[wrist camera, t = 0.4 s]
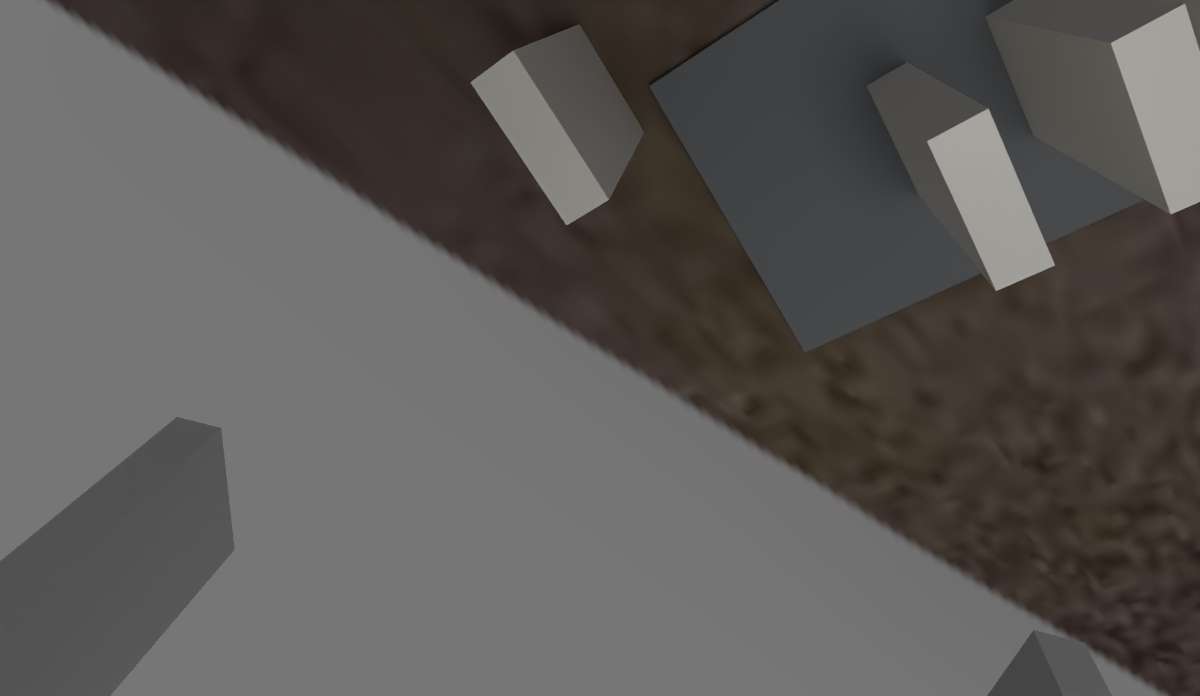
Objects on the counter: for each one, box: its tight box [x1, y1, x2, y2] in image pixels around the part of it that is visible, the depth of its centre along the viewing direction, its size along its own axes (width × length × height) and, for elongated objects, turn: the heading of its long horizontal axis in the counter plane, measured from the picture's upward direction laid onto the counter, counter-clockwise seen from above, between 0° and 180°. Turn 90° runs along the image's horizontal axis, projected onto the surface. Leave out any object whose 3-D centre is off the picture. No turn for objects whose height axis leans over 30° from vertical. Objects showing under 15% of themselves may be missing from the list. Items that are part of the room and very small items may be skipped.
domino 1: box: [867, 62, 1055, 291], centre depth 24 cm, size 5×2×10 cm, turn 34°
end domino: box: [470, 24, 644, 225], centre depth 26 cm, size 5×2×10 cm, turn 34°
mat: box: [649, 0, 1145, 352], centre depth 26 cm, size 14×29×1 cm, turn 124°
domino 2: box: [985, 0, 1200, 214], centre depth 22 cm, size 5×2×10 cm, turn 34°
